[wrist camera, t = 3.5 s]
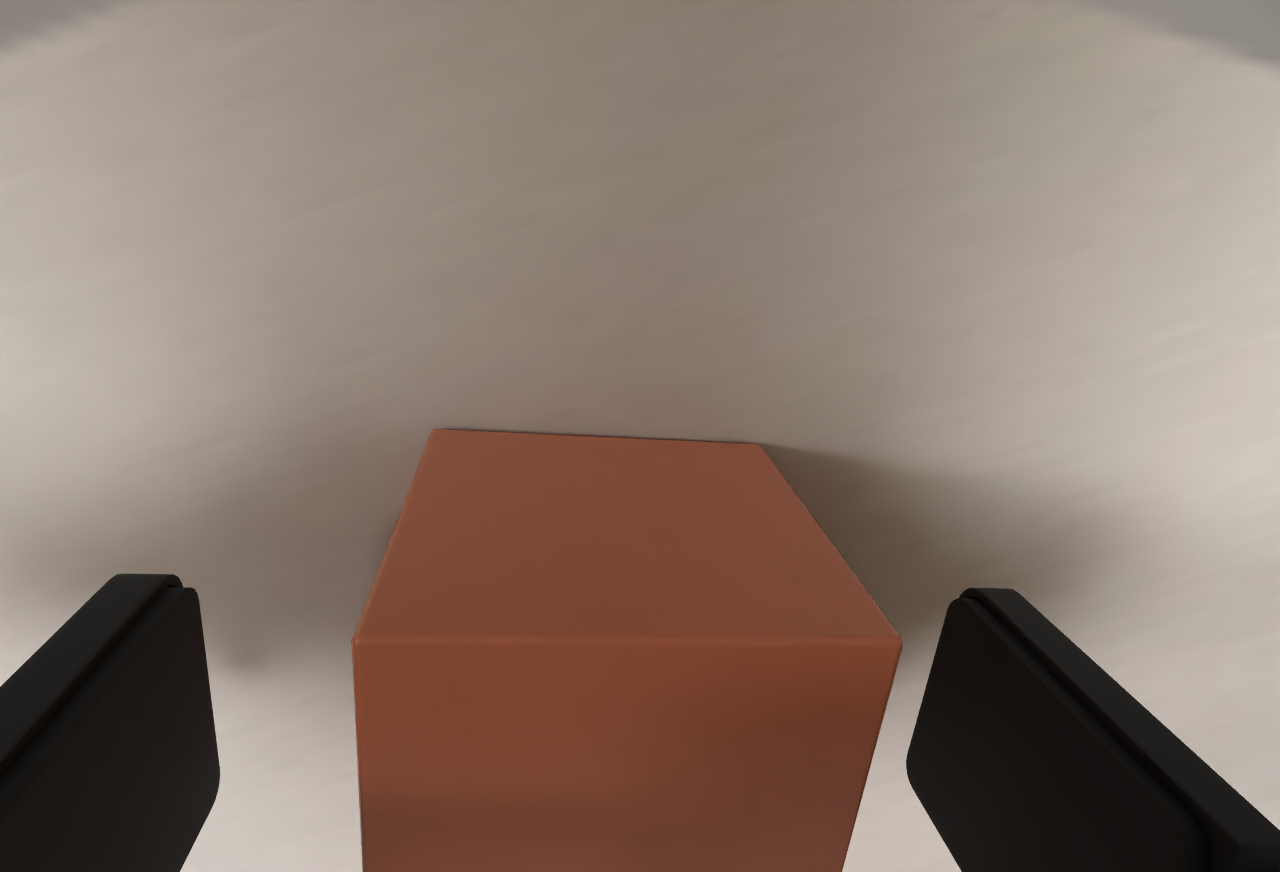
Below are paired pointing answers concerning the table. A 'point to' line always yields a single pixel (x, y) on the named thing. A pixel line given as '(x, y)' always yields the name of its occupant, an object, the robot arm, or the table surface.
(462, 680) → the terracotta block
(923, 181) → the table surface
